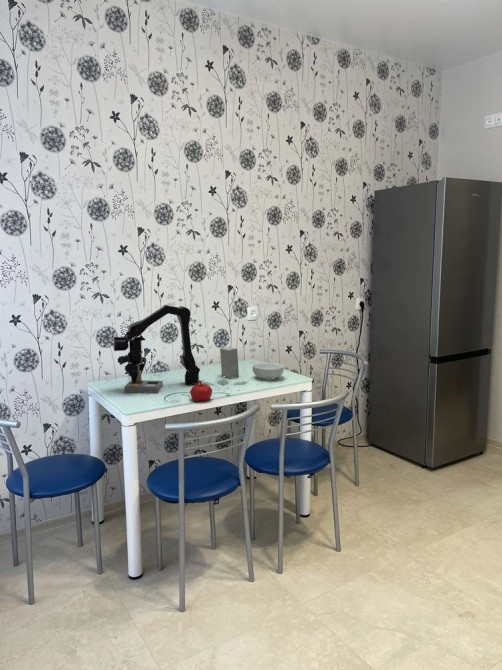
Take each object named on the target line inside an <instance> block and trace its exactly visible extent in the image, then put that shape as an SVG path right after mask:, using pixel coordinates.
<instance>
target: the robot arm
mask: <svg viewBox="0 0 502 670" xmlns="http://www.w3.org/2000/svg"><path fill="white" fill-rule="evenodd" d="M168 314H170V315H174V316H176V317H177V321H178V323H179V327H180V335H181V344H182V354H181V355H179V359H180V361H179V363H180V364H181V366H182V367H183V368H185V370H186V371H185V374H184V383H185V385H192V386H194V385H197V384H194V383H198V384H200V382H199V380H200V374H199V373H200V372H201V369H200V368H199V367H198V366H197V365H196V360H195V356H194V354H193V352H192V343H191V332H190V321H191V310H190V309H189V308H188V307H186V306H173V305H172V306H171V305H168V304H163V305H162V307H160V308H159V309H157V310H155V311H154V312H152V313H151V314H149V315H148V316H147V317H145V318H142V319H140V320H138V321H136V322H133V323H131V324H129V325H128V328H127V331H126V333H125V334H124V336H113V343H112V346H113V348H112V349H113V351H114V352H118V351H119V352H122V351H124V352H125V351H127V350H128V349H129V352H128V353H127V354H125V355H121V356H118V358H117V363H119V366H120V365H121V366H122V365H124V364H126V363H127V364H126V365H125V366H124V371H125V372H127V373H128V374H129V375H130V378H131V379H132V382H133V383H136V380H137V377H138V373H139V370H141V375H142V374H143V371H144V369H145V367H146V364H147V358H146V357H145V356H142V355H143V352H144V351H143V350H142V341H143V342H144V341H146V338H145V337H143V335H142V334H143V333H144V332H145V331H147V329H148V328H149V327H150V326H152V325H153V324H155V323H156V322H158V321H159V320H160V319H163V318H164V317H165V316H166V315H168ZM131 379H130V380H131Z"/></svg>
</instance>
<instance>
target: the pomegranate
mask: <svg viewBox="0 0 502 670" xmlns="http://www.w3.org/2000/svg"><path fill="white" fill-rule="evenodd" d="M194 384H197V385H192V387H191V389H190V392H189V393H190V397H191V399H192V400H193V401H194V402H207V401H209V400H210V399H211V397H212V395H213V389H212V387H211V386H210V385H209V384H208V383H205V382H204V383H202V380H200V379H199V384H198V383H194Z"/></svg>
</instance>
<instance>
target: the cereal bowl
mask: <svg viewBox="0 0 502 670" xmlns="http://www.w3.org/2000/svg"><path fill="white" fill-rule="evenodd" d="M284 368H285V365H283V364H281V363H277V362H267V361H266V362H264V361H263V362H256V363H253V364H252V373H253V374H254V375H255V376H257V377H258V378H260V379H261V378H263V379H262V380H264V379H273V378H275V379H276V378H279V377H281V376H282V375H283V374H284ZM273 380H274V379H273Z"/></svg>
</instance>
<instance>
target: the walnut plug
mask: <svg viewBox="0 0 502 670" xmlns="http://www.w3.org/2000/svg"><path fill="white" fill-rule="evenodd" d="M130 381H131V382H132V379H130ZM141 383H142V374H141V370H139V373H138V377H137V380H136V383H133V382H132V384H141Z"/></svg>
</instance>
